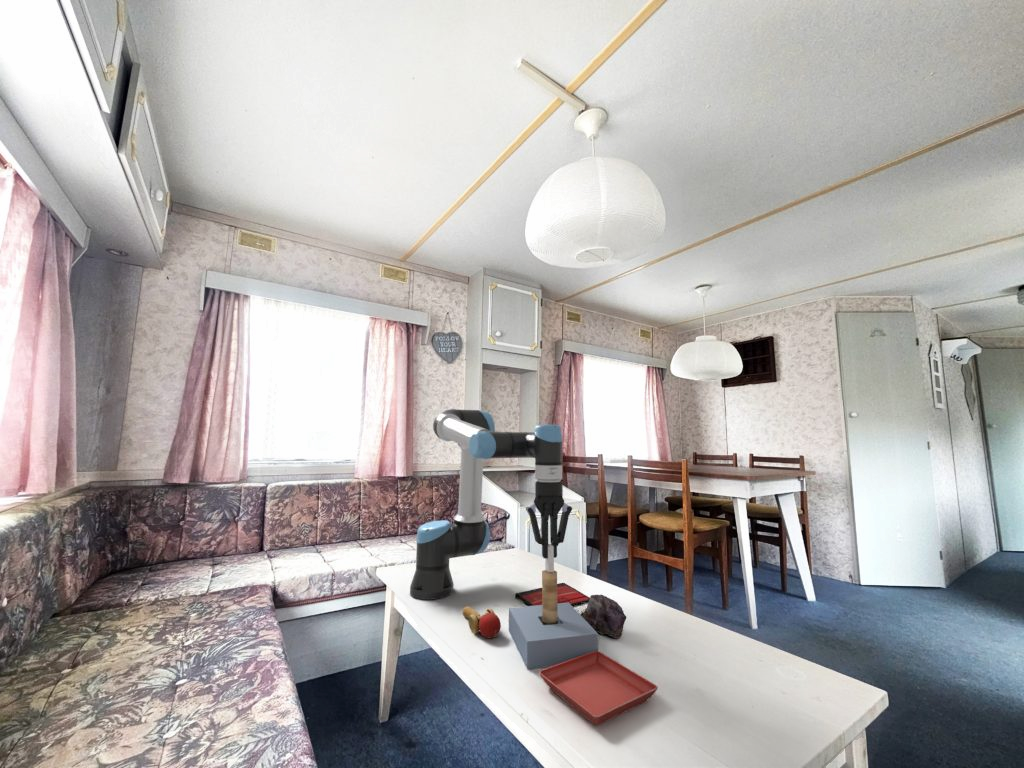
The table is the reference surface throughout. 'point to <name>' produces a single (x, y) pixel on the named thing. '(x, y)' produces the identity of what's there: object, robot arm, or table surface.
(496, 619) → the kendama
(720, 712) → the table surface
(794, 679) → the table surface
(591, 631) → the board
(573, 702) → the plant saucer
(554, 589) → the peg
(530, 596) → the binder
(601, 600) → the rock
